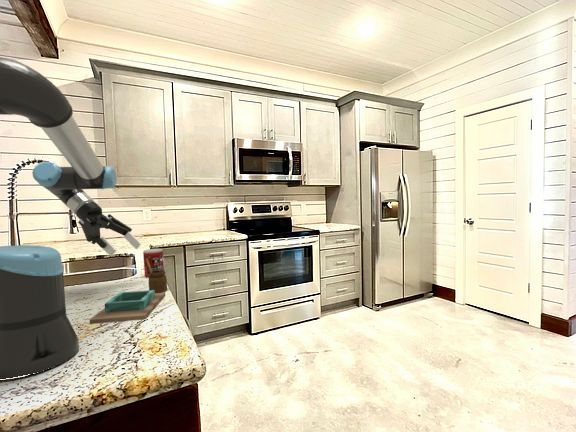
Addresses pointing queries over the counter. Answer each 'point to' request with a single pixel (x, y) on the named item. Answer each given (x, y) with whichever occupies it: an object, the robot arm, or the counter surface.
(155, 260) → the canned food
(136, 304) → the cradle jig
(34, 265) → the robot arm
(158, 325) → the counter surface
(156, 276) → the utensil holder
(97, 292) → the counter surface
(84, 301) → the counter surface
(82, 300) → the counter surface
